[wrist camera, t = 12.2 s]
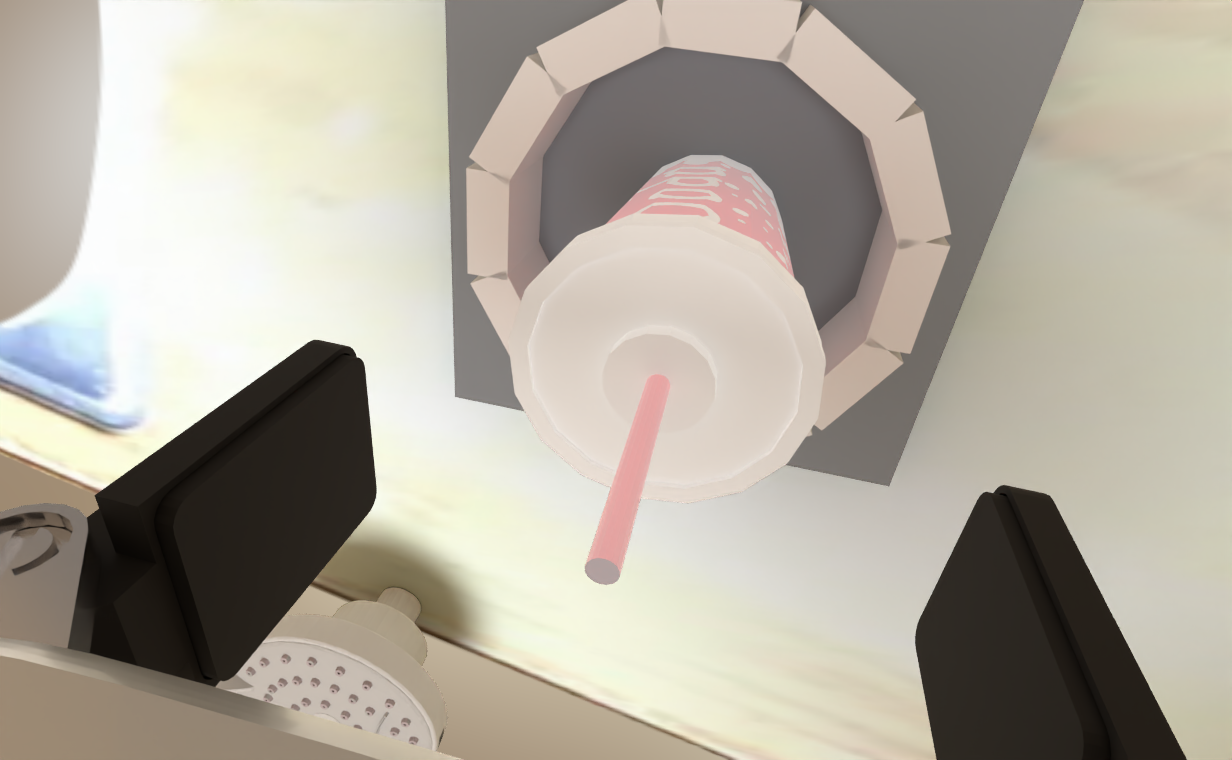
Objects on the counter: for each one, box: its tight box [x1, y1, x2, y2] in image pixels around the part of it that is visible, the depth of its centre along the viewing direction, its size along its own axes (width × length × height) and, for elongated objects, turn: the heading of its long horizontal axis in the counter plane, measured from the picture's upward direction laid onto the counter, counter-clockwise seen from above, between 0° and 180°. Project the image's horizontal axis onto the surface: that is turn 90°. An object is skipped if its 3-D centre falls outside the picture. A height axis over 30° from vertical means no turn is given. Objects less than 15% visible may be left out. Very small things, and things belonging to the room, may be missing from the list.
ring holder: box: [445, 0, 1084, 486], centre depth 20 cm, size 16×16×4 cm
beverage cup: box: [508, 155, 826, 585], centre depth 15 cm, size 6×6×14 cm
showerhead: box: [216, 587, 448, 751], centre depth 31 cm, size 9×7×10 cm
